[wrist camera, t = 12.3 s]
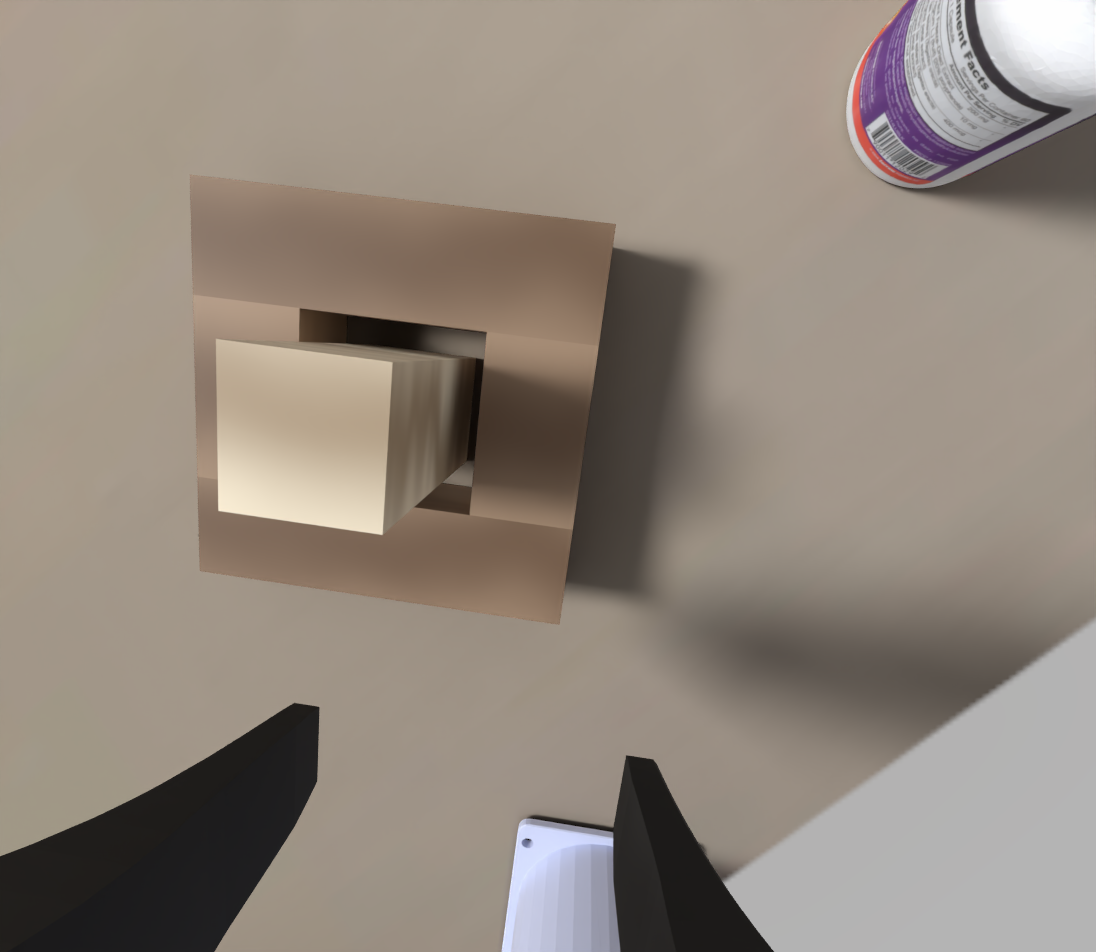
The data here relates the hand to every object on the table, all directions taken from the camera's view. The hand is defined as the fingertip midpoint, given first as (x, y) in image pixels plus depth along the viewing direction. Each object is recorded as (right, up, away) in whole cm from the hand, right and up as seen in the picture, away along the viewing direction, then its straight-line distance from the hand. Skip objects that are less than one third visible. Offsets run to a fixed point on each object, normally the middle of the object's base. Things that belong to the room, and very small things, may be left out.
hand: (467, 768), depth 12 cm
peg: (-3, +9, +9) cm, 13 cm away
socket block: (-3, +9, +9) cm, 13 cm away
